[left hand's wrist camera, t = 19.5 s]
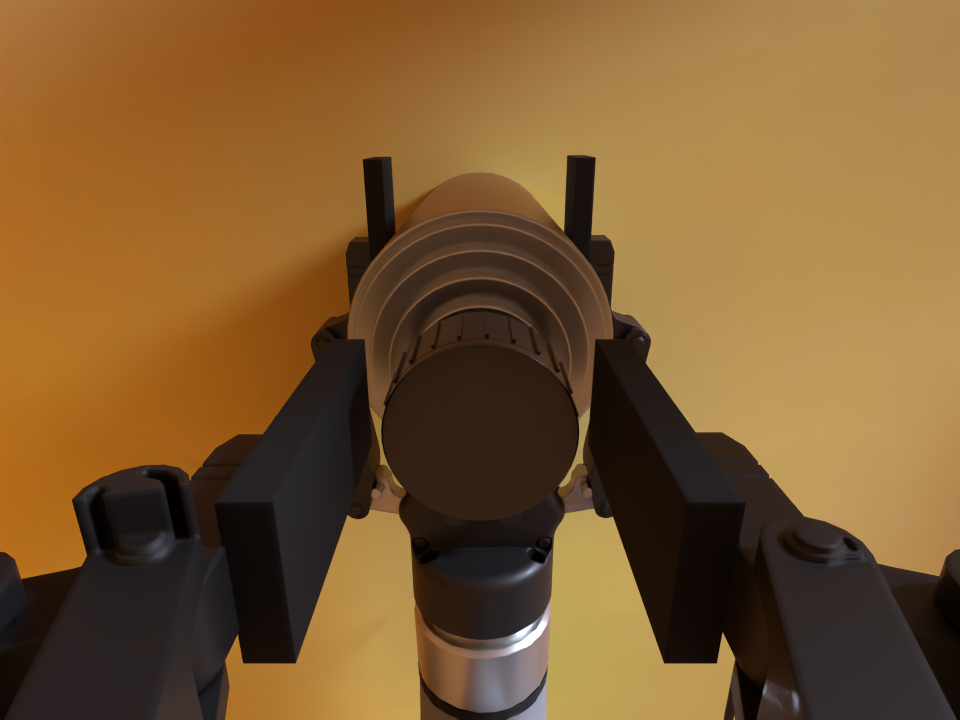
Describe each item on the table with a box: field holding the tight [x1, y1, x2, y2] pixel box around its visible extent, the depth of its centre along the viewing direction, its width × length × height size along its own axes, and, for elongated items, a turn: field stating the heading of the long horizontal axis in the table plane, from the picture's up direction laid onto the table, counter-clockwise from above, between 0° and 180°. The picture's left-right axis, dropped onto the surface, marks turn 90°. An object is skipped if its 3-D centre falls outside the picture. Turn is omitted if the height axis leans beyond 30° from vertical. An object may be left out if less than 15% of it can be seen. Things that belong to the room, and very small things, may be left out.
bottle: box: [347, 173, 613, 420], centre depth 23 cm, size 8×8×21 cm
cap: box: [381, 311, 579, 520], centre depth 13 cm, size 4×4×2 cm
